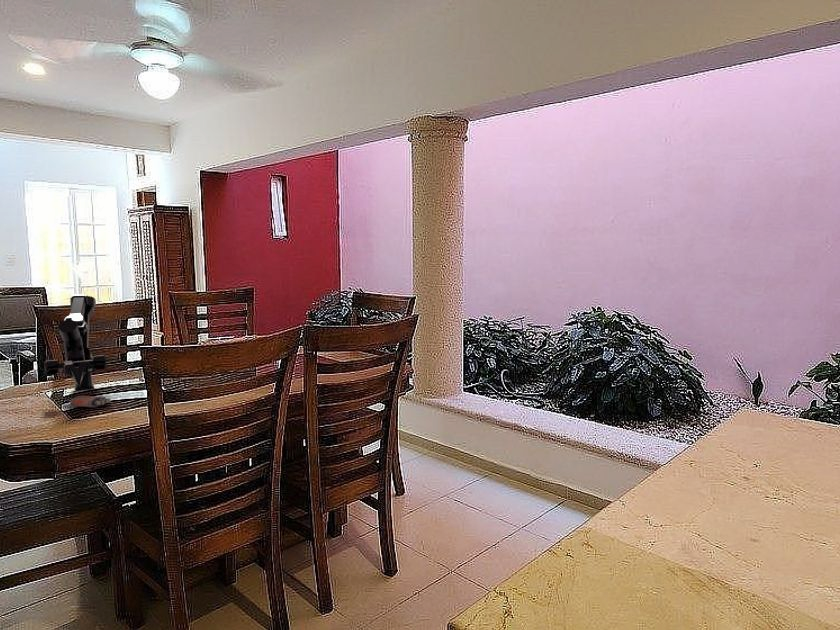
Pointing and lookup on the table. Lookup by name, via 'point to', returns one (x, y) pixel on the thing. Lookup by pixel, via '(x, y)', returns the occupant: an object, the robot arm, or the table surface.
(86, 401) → the lighter
